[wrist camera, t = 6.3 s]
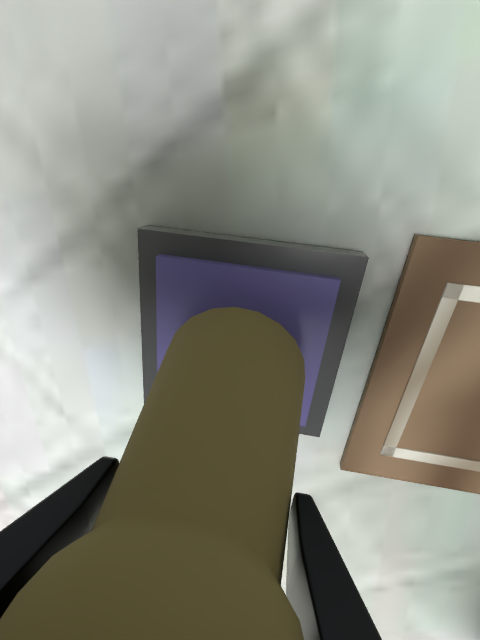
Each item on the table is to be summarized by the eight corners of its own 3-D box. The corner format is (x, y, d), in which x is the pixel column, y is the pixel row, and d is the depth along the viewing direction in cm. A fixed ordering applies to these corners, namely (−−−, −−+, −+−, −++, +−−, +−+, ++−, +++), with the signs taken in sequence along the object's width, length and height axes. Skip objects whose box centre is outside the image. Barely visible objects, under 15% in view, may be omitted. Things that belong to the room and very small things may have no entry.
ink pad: (361, 251, 14) (371, 260, 12) (317, 421, 18) (320, 443, 17) (148, 225, 15) (132, 230, 13) (152, 394, 19) (140, 413, 17)
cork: (170, 420, 15) (-63, 906, 5) (160, 302, 12) (-355, 786, 2) (298, 434, 14) (334, 1032, 4) (313, 311, 12) (487, 1038, 2)
